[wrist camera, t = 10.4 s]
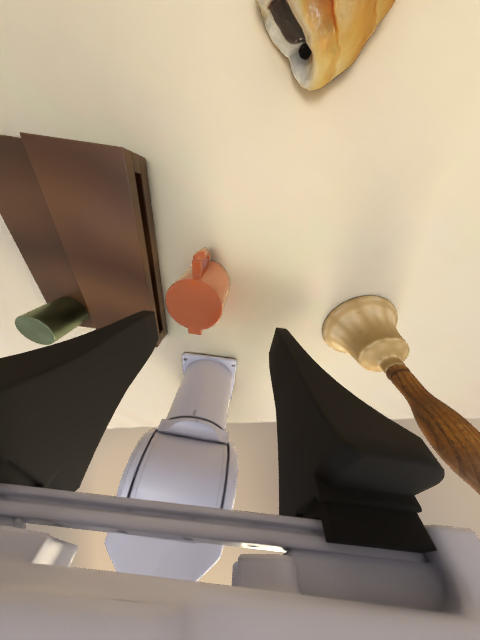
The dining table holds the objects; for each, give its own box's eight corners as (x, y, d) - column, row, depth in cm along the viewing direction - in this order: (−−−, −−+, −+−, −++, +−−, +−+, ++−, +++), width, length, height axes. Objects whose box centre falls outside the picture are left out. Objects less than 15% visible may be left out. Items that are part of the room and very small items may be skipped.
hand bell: (347, 360, 25) (459, 539, 11) (308, 328, 22) (392, 508, 9) (409, 323, 21) (683, 523, 8) (370, 280, 19) (675, 462, 5)
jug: (227, 308, 22) (220, 338, 16) (188, 302, 21) (168, 331, 16) (233, 247, 18) (225, 262, 13) (185, 240, 18) (159, 253, 13)
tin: (92, 323, 23) (60, 346, 19) (64, 320, 23) (26, 342, 19) (82, 298, 21) (44, 318, 17) (51, 294, 21) (6, 313, 17)
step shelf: (167, 332, 24) (157, 347, 22) (64, 319, 24) (41, 332, 21) (145, 157, 15) (122, 146, 12) (-28, 132, 14) (-88, 116, 12)
